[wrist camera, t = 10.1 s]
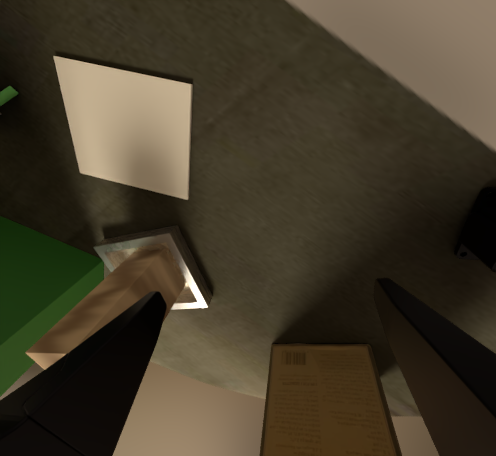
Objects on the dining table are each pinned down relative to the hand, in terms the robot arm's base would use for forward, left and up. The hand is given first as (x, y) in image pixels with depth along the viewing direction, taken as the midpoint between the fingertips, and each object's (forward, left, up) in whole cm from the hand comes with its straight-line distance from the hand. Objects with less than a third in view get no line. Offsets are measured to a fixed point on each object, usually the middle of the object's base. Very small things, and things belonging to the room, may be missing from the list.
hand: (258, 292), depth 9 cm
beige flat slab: (+14, -5, -13) cm, 20 cm away
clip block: (+16, +11, -13) cm, 23 cm away
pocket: (+16, +11, -13) cm, 23 cm away
